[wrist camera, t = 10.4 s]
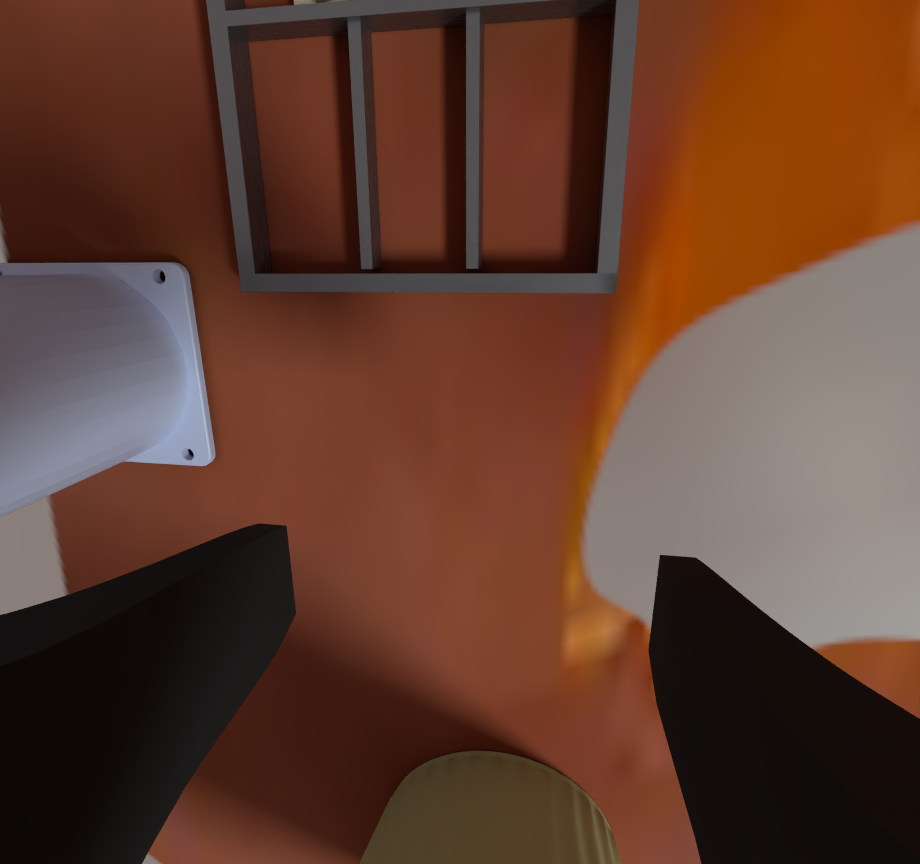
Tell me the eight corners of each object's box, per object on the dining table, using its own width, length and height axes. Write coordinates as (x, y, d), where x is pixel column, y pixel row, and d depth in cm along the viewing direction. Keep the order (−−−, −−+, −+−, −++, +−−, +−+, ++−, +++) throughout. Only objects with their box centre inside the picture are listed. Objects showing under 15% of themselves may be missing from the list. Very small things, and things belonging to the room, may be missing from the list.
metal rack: (258, 290, 20) (241, 291, 19) (215, -105, 17) (190, -132, 15) (611, 291, 18) (615, 293, 17) (646, -159, 15) (654, -194, 13)
